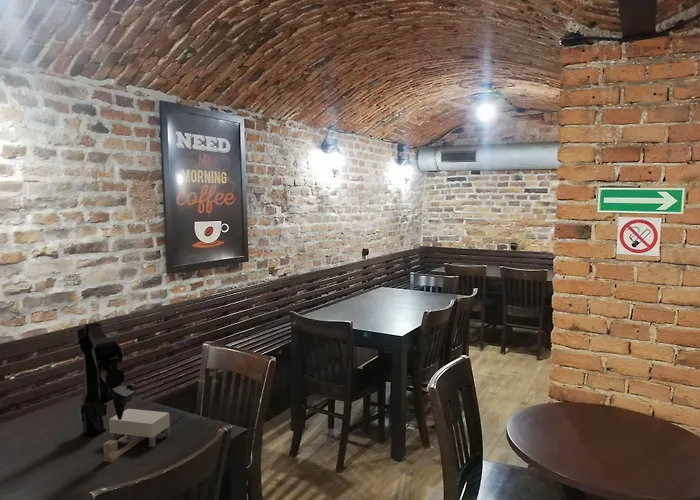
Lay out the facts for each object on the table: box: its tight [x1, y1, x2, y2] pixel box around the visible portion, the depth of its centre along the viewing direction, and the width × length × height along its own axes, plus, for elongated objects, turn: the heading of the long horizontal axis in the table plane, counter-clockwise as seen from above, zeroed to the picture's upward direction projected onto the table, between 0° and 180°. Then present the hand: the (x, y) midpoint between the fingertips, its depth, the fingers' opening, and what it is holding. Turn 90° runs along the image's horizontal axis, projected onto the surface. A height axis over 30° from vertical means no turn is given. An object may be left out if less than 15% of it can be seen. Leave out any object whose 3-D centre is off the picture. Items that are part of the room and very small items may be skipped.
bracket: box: [162, 413, 184, 433], centre depth 199 cm, size 14×15×3 cm
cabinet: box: [108, 408, 171, 448], centre depth 185 cm, size 18×10×8 cm, turn 74°
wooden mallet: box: [103, 436, 148, 463], centre depth 179 cm, size 10×21×6 cm, turn 164°
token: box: [117, 434, 140, 445], centre depth 184 cm, size 6×6×1 cm
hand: (110, 424), depth 169 cm, fingers open, 9 cm apart
